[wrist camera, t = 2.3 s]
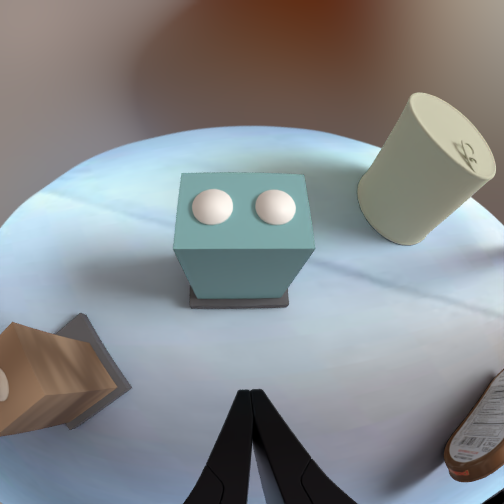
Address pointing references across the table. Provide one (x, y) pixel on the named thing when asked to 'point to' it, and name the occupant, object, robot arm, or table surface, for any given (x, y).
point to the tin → (479, 437)
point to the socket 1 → (86, 333)
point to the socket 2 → (238, 302)
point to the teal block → (242, 233)
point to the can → (424, 170)
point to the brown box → (46, 379)
